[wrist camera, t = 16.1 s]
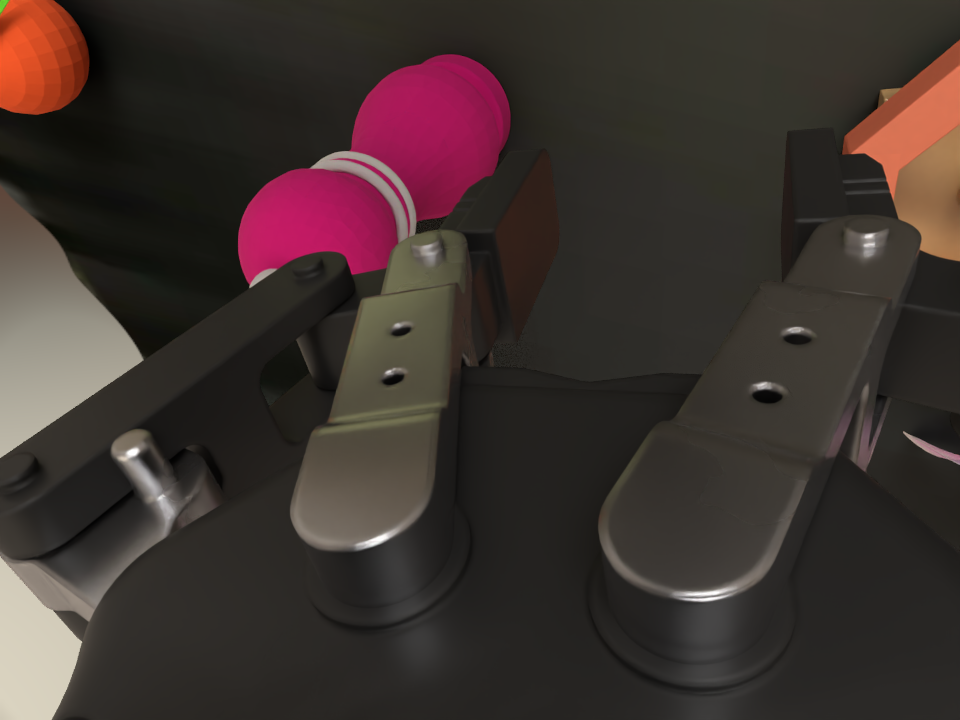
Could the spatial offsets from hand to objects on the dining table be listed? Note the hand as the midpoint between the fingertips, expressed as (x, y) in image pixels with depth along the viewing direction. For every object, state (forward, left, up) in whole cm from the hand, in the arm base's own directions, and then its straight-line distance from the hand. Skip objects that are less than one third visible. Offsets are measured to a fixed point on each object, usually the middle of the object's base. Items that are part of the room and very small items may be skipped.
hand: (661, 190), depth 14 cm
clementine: (-2, -37, -24) cm, 44 cm away
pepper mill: (+5, -13, -24) cm, 28 cm away
